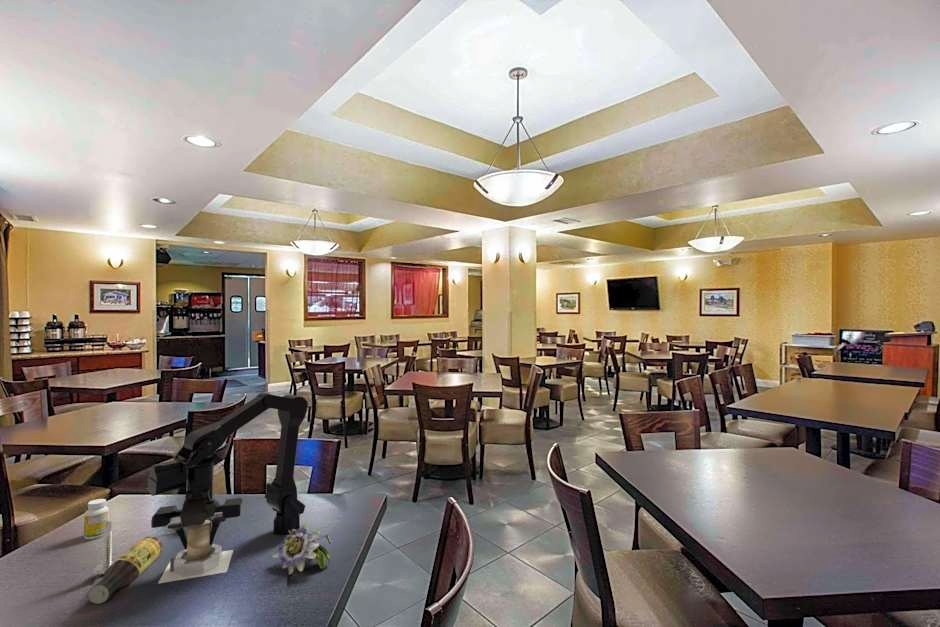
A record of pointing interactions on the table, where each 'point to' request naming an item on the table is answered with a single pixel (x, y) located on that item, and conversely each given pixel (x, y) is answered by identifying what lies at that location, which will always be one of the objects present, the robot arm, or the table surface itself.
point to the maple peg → (198, 541)
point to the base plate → (221, 568)
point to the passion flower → (301, 549)
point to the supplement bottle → (95, 519)
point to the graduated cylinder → (106, 550)
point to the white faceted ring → (195, 562)
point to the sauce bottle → (126, 568)
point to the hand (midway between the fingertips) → (198, 546)
